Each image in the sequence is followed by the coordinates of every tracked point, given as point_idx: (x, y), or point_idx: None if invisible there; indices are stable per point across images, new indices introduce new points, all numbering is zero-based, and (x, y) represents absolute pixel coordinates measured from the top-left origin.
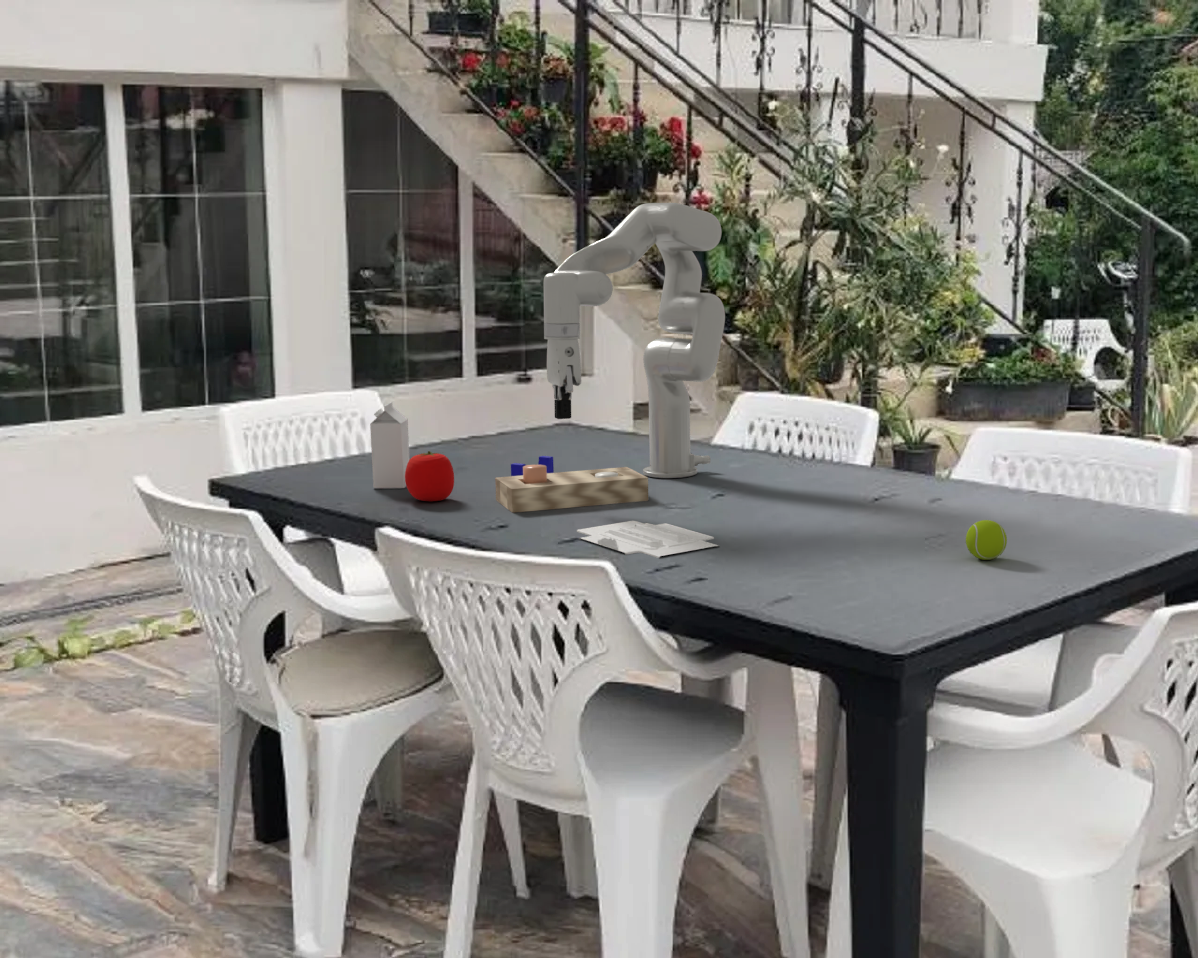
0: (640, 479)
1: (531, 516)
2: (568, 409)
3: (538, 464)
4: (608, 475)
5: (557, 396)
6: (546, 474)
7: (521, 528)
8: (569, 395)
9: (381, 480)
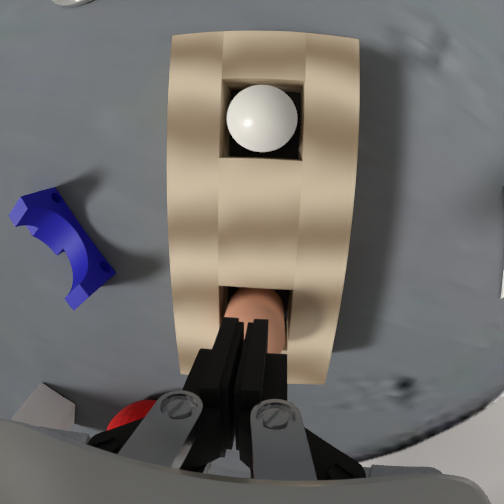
0: (358, 59)
1: (369, 333)
2: (286, 369)
3: (28, 224)
4: (286, 120)
5: (209, 461)
6: (267, 304)
7: (433, 364)
8: (331, 448)
9: (70, 426)
